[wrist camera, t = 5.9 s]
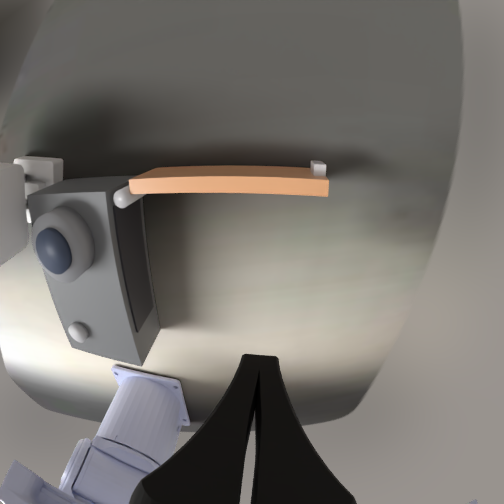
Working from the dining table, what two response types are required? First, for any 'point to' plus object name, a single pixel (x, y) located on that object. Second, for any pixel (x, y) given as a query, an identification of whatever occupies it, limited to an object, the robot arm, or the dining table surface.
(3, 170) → the security camera
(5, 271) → the dining table surface
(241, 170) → the hatch
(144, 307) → the housing
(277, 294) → the dining table surface
